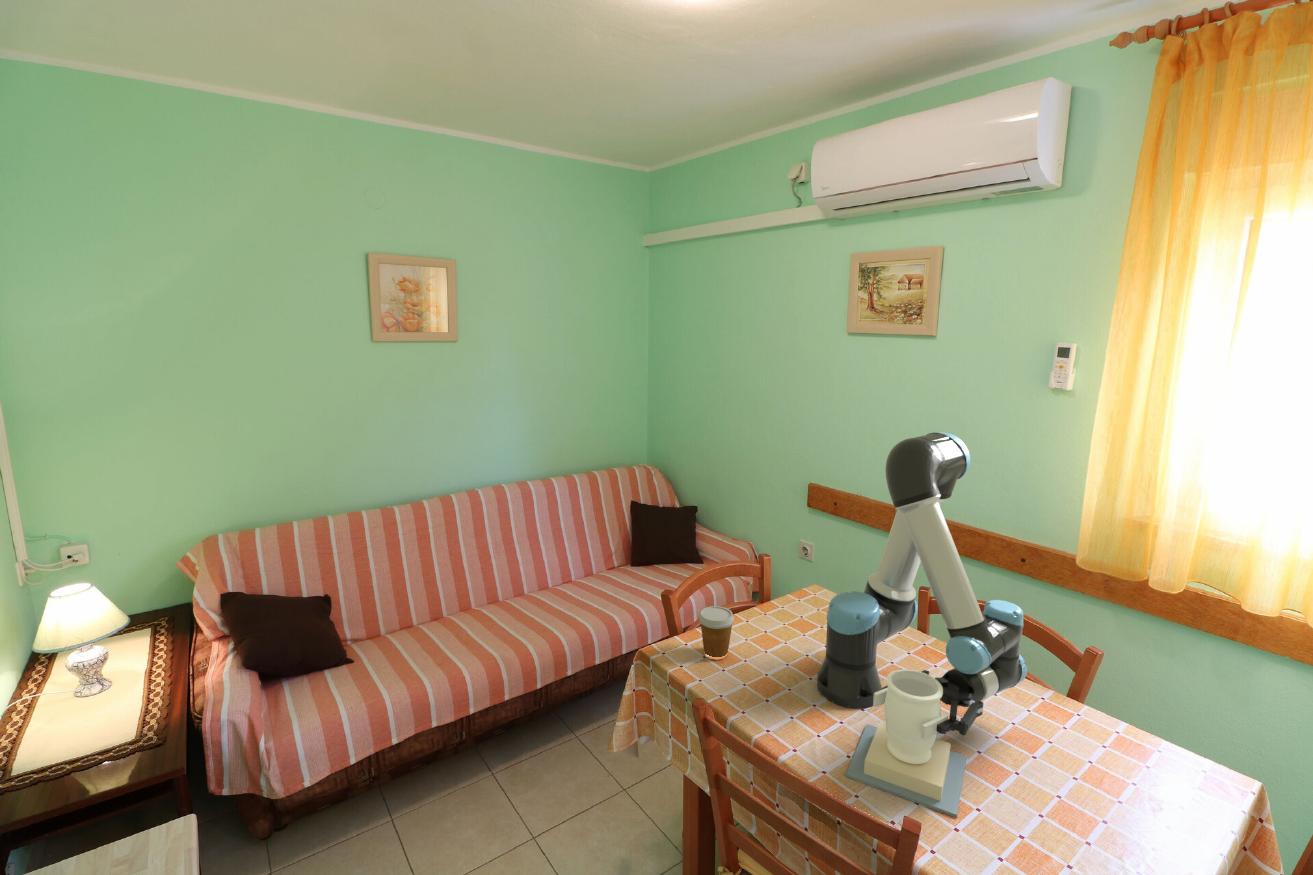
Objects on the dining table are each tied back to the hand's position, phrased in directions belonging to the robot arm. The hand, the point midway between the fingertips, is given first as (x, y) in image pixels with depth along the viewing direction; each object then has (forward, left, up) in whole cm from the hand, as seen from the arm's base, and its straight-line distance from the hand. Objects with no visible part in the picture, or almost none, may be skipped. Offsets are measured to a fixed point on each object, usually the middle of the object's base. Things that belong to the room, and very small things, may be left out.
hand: (897, 715), depth 120 cm
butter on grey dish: (+2, +4, -13) cm, 14 cm away
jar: (+2, +4, -10) cm, 10 cm away
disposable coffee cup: (-50, +23, -13) cm, 56 cm away
